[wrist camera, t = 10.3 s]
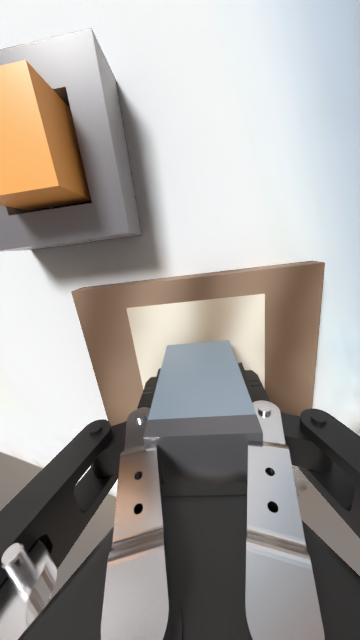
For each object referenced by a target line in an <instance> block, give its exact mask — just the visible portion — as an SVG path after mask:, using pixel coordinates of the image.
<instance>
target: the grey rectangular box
mask: <svg viewBox="0 0 360 640" xmlns="http://www.w3.org/2000/svg"><path fill="white" fill-rule="evenodd" d="M143 440H144V444H145V446H149V445H156V446H157V451H158V456H159V461H160V465H161V470H162V475H163V480H164V484H173V483H180V484H183V485H187V486H191V487H195V488H199V489H203V490H205V489H209V488H212V487H216V486H219V485H222V484H225V483H228V482H248V441H261V442H263V431H262V428H261V425H260V423H259V420H258V417H257V415H256V412H255V409H254V406H253V404H252V401H251V398H250V396H249V393H248V390H247V387H246V385H245V382H244V379H243V376H242V374H241V371H240V368H239V366H238V363H237V360H236V357H235V355H234V352H233V349H232V347H231V344H230V341H229V340H224V341H212V342H200V343H188V344H176V345H167V347H166V351H165V355H164V359H163V363H162V366H161V370H160V374H159V378H158V382H157V386H156V390H155V393H154V397H153V401H152V405H151V409H150V413H149V416H148V420H147V424H146V428H145V432H144V436H143Z"/></svg>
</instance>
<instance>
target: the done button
mask: <svg viewBox="0 0 360 640" xmlns="http://www.w3.org/2000/svg"><path fill="white" fill-rule="evenodd" d="M88 201H91V197H90V192H89V188H88V183H87V179H86V175H85V170H84V166H83V161H82V157H81V152H80V148H79V144H78V139H77V135H76V130H75V126H74V122H73V117H72V113H71V109H70V108H69V107H68V105H67V104H66V103H65V102H64V101H63V100H62V99H61V98H60V97H59V96H58V95H57V93H56V92H55V91H54V90H53V89H52V88H51V87H50V86H49V85H48V84H47V83H46V81H45V80H44V79H43V78H42V77H41V76H40V75H39V74H38V73H37V72H36V70H35V69H34V68H33V67H32V66H31V65H30V64H29V63H28V62H27V61H26V60H22V61H18V62H14V63H9V64H5V65H0V205H2V206H7V207H12V208H17V209H22V210H27V211H30V210H36V209H43V208H49V207H56V206H62V205H68V204H75V203H81V202H88Z"/></svg>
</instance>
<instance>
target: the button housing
mask: <svg viewBox="0 0 360 640" xmlns="http://www.w3.org/2000/svg"><path fill="white" fill-rule="evenodd" d="M22 60H26V61H27V62H28V63H29V64H30V65H31V66H32V67H33V68H34V69H35V70H36V72H37V73H38V74H39V75H40V76H41V77H42V78H43V79H44V80H45V81H46V83H47V84H48V85H49V86H50V87H51V88H52V89H53V90H54V91H55V92H56V93H57V95H58V96H59V97H60V98H61V99H62V100H63V101H64V102H65V103H66V104H67V105H68V107H69V108H70V109H71V113H72V117H73V122H74V126H75V130H76V135H77V139H78V144H79V148H80V152H81V157H82V161H83V166H84V170H85V175H86V179H87V183H88V188H89V192H90V197H91V201H92V203H87V204H81V205H75V206H68V207H62V208H55V209H49V210H42V211H41V209H36V210H30V211H27V210H22V209H17V208H12V207H7V206H2V205H0V251H15V250H33V249H40V248H48V247H55V246H62V245H70V244H77V243H84V242H92V241H99V240H106V239H113V238H121V237H128V236H135V235H142V234H141V228H140V222H139V216H138V210H137V204H136V198H135V192H134V186H133V180H132V174H131V168H130V163H129V157H128V151H127V145H126V139H125V133H124V127H123V121H122V115H121V109H120V103H119V97H118V91H117V85H116V79H115V77H114V75H113V73H112V71H111V68H110V66H109V64H108V62H107V60H106V58H105V56H104V54H103V52H102V50H101V47H100V45H99V43H98V41H97V39H96V37H95V35H94V33H93V31H92V29H91V28H90V29H85V30H81V31H77V32H73V33H68V34H64V35H60V36H56V37H51V38H47V39H43V40H39V41H34V42H30V43H26V44H21V45H17V46H13V47H9V48H4V49H0V65H5V64H9V63H14V62H18V61H22Z"/></svg>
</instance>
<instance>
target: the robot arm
mask: <svg viewBox="0 0 360 640" xmlns="http://www.w3.org/2000/svg"><path fill="white" fill-rule="evenodd" d="M238 366H239V368H240V371H241V374H242V376H243V379H244V382H245V385H246V387H247V390H248V393H249V396H250V398H251V401H252V404H253V406H254V409H255V412H256V415H257V417H258V420H259V423H260V425H261V428H262V431H263V442H261V441H248V482H228V483H225V484H222V485H219V486H216V487H212V488H209V489H205V490H203V489H199V488H195V487H191V486H187V485H183V484H180V483H173V484H164V480H163V475H162V470H161V465H160V461H159V456H158V451H157V446H156V445H149V446H145V444H144V440H143V436H144V432H145V428H146V424H147V420H148V416H149V413H150V409H151V405H152V401H153V397H154V393H155V390H156V386H157V382H158V378H159V374H160V370H161V368H160V369H158V373H157V376H156V377H150V379H149V380H148V381H147V382H146V384H145V387H144V390H143V394H142V395H141V398H140V401H139V404H138V407H137V409H136V410H134V411H132V412H131V413H130V414H129V416H128V417H127V421H125V422H123V423H120V424H117V425H113V426H111V425H110V423H109V421H107V420H96V421H94V422H92V423H90V424H88V425H87V426H86V427H85V428H84V429H83V430H82V431H81V432H80V433H79V434H78V435H77V436H76V437H75V438H74V439H73V440H72V441H71V442H70V443H69V444H68V445H67V446H66V447H65V448H64V449H63V450H62V451H61V452H60V453H59V454H58V455H57V456H56V457H55V458H54V459H53V460H52V461H51V462H50V463H49V464H48V465H47V466H46V467H45V468H44V469H43V470H42V471H41V472H40V473H38V474H37V476H35V477H34V479H32V480H31V482H29V483H28V484H27V485H26V487H24V488H23V489H22V490H21V491H20V492H19V493H18V494H17V495H16V496H15V497H14V498H13V499H12V500H11V501H10V502H9V503H8V504H7V505H6V506H5V507H4V508H3V509H2V510H1V511H0V640H360V576H359V575H358V574H357V573H356V572H355V571H354V570H352V568H351V567H350V566H349V565H348V564H347V563H345V561H343V560H342V559H341V558H340V557H339V556H338V555H337V554H336V553H335V552H334V551H333V550H332V549H331V548H330V547H329V546H328V545H327V544H326V543H325V542H324V541H323V540H322V539H321V538H320V537H319V536H318V535H316V533H315V532H314V531H313V530H311V529H310V528H309V527H308V526H307V525H306V524H305V523H304V522H303V521H302V520H301V515H300V509H299V503H298V498H297V492H296V486H295V481H294V475H293V469H292V465H295V466H298V467H299V469H300V470H301V471H302V473H303V474H304V475H305V476H306V477H307V478H308V480H309V481H310V482H311V483H312V484H313V485H314V486H315V488H316V489H317V490H318V491H319V492H320V493H321V494H322V496H323V497H324V498H325V499H326V500H327V501H328V502H329V504H330V505H331V506H332V507H333V508H334V509H335V510H336V512H337V513H338V514H339V515H340V516H341V517H342V518H343V519H344V521H345V522H346V523H347V524H348V525H349V526H350V528H351V529H352V530H353V531H354V532H355V533H356V534H357V535H358V537H359V538H360V436H359V435H357V434H356V433H354V432H353V431H352V430H350V429H349V428H348V427H346V426H345V425H344V424H342V423H341V422H339V421H338V420H337V419H335V418H334V417H333V416H331V415H330V414H328V413H326V412H324V411H322V410H318V409H306V410H304V411H302V412H301V414H300V416H296V415H290V414H286V413H283V412H281V411H280V410H279V408H278V407H277V406H276V405H275V404H273V403H271V401H270V399H269V397H268V395H267V393H266V391H265V389H264V387H263V386H262V383H261V381H260V379H259V377H258V375H257V374H256V373H255V372H254V371H252V370H245V369H244V367H243V364H242V362H240V363H238ZM90 465H91V468H90V469H89V470H88V472H87V473H86V474H85V475H84V476H83V478H82V479H81V480H80V481H79V483H78V484H77V485H76V483H77V481H78V480H79V479H80V478H81V476H82V475H83V474H84V473H85V471H86V470H87V469H88V468H89V467H90ZM117 479H118V487H117V499H116V509H115V520H114V527H113V528H112V529H111V530H110V531H109V533H108V534H107V535H106V536H105V537H104V538H103V540H102V541H101V542H100V543H99V545H97V547H96V548H95V549H94V550H93V551H92V552H91V554H90V555H89V556H88V557H87V558H86V560H85V561H84V562H83V563H82V564H81V566H80V567H79V568H78V569H77V570H76V571H75V572H74V574H73V575H72V576H71V577H70V578H69V580H68V581H67V582H66V583H65V584H64V585H63V587H62V588H61V589H60V590H59V591H58V593H57V594H56V595H55V596H54V597H53V598H52V599H51V601H50V598H51V593H52V591H53V588H54V585H55V582H56V577H57V569H58V567H59V566H60V564H61V563H62V561H63V560H64V558H65V557H66V555H67V554H68V552H69V551H70V549H71V548H72V546H73V545H74V543H75V542H76V540H77V539H78V537H79V536H80V534H81V533H82V531H83V530H84V528H85V527H86V525H87V524H88V522H89V521H90V519H91V518H92V516H93V515H94V513H95V512H96V510H97V509H98V507H99V506H100V504H101V503H102V501H103V500H104V498H105V497H106V495H107V494H108V492H109V491H110V489H111V488H112V486H113V485H114V483H115V482H116V480H117ZM75 485H76V486H75Z"/></svg>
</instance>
